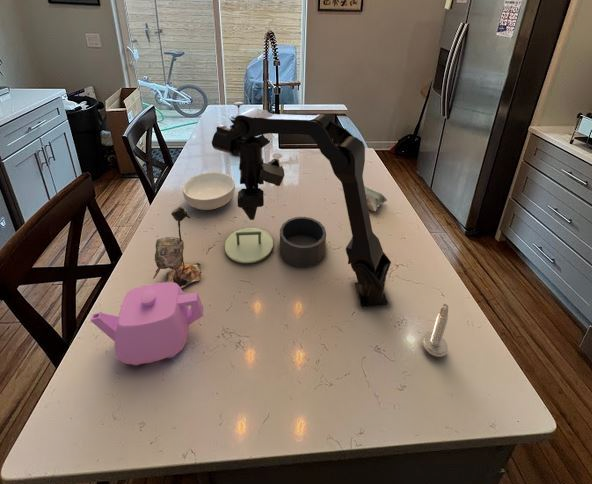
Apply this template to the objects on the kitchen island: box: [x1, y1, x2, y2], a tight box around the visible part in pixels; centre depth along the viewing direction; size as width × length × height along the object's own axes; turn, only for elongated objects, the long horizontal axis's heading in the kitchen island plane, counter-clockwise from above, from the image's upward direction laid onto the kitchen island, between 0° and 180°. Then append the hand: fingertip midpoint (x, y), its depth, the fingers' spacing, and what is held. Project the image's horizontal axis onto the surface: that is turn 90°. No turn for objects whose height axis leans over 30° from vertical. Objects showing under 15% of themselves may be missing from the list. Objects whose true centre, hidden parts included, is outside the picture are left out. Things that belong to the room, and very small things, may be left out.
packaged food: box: [364, 185, 388, 212], centre depth 113 cm, size 9×12×5 cm
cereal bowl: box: [182, 171, 236, 211], centre depth 111 cm, size 17×17×7 cm
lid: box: [224, 227, 274, 264], centre depth 92 cm, size 14×14×5 cm
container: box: [279, 216, 327, 268], centre depth 92 cm, size 13×13×6 cm
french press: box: [228, 101, 244, 157], centre depth 143 cm, size 12×9×23 cm
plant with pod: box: [152, 206, 202, 289], centre depth 79 cm, size 8×11×20 cm
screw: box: [421, 303, 449, 358], centre depth 65 cm, size 13×5×5 cm
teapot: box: [90, 281, 204, 366], centre depth 66 cm, size 20×12×13 cm, turn 104°
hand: (252, 208), depth 90 cm, fingers open, 9 cm apart
